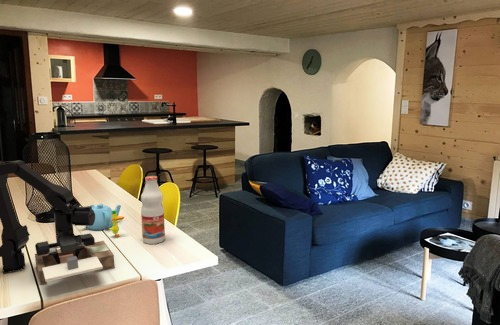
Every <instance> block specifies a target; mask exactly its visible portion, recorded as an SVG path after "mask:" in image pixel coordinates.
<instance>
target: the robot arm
mask: <svg viewBox="0 0 500 325" xmlns="http://www.w3.org/2000/svg"><path fill="white" fill-rule="evenodd" d="M9 174H13V175H15V176H16V177H18V178H19V179H20V180H22V181H23V182H25V183H26V184H28V185H29V186H30V187H32V189H35V190H36V191H37V192H39V193H40V194H42V196H43V197H44V199H45V201H46V202H47V203H48V204H49V205H50V207H51V208H50V210H48V211H47V214H48V215H53V216H54V226H55V227H54V228H55V231H54V232H55V240H56V242H52V243H49V241H47V240H46V241H40V242H36V243H35V254H37V255H38V256H40V255H45V254H48V255H52V256H53V257H54V258H55V260H56V262H57V264H60V260H59V256H58V252H57V250H58V249H60V250H61V252H62V253H66V252H68V251H74V255H73V256H76V257H77V259H78V255H79V253H80V251H81V250H82V249H84V248H85V247H84V245H85V246H90V245H94V244H95V237H94V236H93V234H92V233H84V234H78V235H77V234H75V233H74V226H77V227H78V226H79V227H80V226H81V227H82V226H83V227H84V226H86V227H87V226H92V225H93V224H94V222H95V213H94V211H93V210H92V206H90V205H87V206H81V204H80V202H79V201H78V200H77V199H76V198H75V196H74V194H73V191H72V190H70V189H68V188H67V187H64V186H63V185H60V184H59V185H58V184H55V183H53V182H51V181H50V180H48V179H47V178H46V177H44V176H43V175H42V174H40V173H39V172H37V171H36V170H34V169H33V168H31V167H30V166H29V165H27V164H26V163H25V161H24V160H12V161H11V160H10V161H9V160H8V161H1V160H0V222H1V226H2V230H1V235H0V238H1V245H0V258H1V262H2V273H3V274H7V273H12V272H17V271H21V270H25V266H26V262H25V261H26V260H25V259H26V258H25V253H24V252H23V250H22V249H25V247H26V244H27V243H28V242H29V241H30V235H31V234H30V233H29V230H28V225H27V224H25V225H22V224H21V223H20V222H19V220H18V217H17V214H16V210H15V207H14V205H13V201H12V198H11V195H10V192H9V189H8V186H7V183H8V178H9Z"/></svg>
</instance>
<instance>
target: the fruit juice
mask: <svg viewBox="0 0 500 325" xmlns="http://www.w3.org/2000/svg"><path fill="white" fill-rule="evenodd" d="M144 180H145V185H144V188H143V190H142V191H143V192H142V193H141V195H140V201H141V204H142V205H141V207H140V208H141V210H140V211H141V213H140V215H141V216H140V218H141V233H142V239H141V240H142V243H145V244H147V245H155V244H160V243H163V242H164V241H165V239H166V238H165V237H166V236H165V235H166V233H165V232H166V230H165V229H166V228H165V226H166V225H165V208H164V205H163V201H164V195H163V193H162V191H161V189H160V186H159V184H158V176H157V175H148V176H145V179H144Z"/></svg>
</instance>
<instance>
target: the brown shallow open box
mask: <svg viewBox="0 0 500 325" xmlns="http://www.w3.org/2000/svg"><path fill="white" fill-rule="evenodd" d="M84 247H85V248H84V249H82V250H81V251H80V253H79V255H78V260H81V259H86V258H91V257H95V256H97V258H98V259H99V261H100V263H101V264H102V266H103V269H99V270H95V271H93V273H97V272H102V271H105V270H106V271H107V270H111V269H114V268H115V266H116V265H115V254H114V253H113V251H112V250H111V249H110V248H109V246H108V245H107V244H106V242H105V241H104V240H100V241H96V242H95V244H94V245H90V246H85V245H84ZM57 252H58V256H64V255H69V254H73V255H74V251H68V252H66V253H62V252H61V250H60V248H57ZM34 258H35V259H34V260H35V268H36V272H37V276H38V281H39V285H40V286H41V285H47V284H48V281H47V282H46V281H45V278H44V274H43V270H42V268H44V267H48V266H53V265H58V264H57V262H56V260H55V258H54V257H53V256H52V255H48V254H45V255H40V256H38V255H37V253H34Z"/></svg>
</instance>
